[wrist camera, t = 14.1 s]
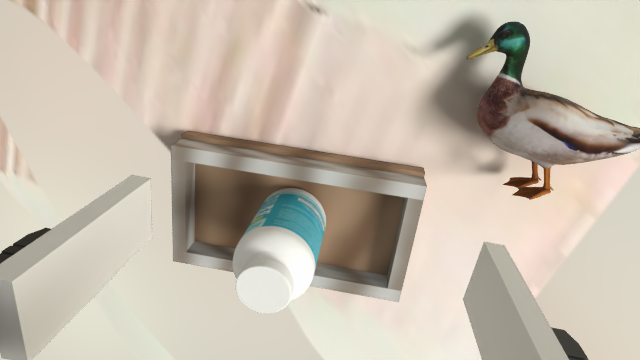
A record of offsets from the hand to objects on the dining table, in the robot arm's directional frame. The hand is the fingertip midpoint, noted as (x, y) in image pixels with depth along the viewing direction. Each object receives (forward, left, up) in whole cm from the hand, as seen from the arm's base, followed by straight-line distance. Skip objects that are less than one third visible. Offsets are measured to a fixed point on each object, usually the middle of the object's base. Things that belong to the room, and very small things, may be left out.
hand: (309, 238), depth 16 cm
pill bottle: (-4, -13, -26) cm, 29 cm away
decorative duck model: (+18, +3, -28) cm, 33 cm away
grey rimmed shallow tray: (-4, -13, -27) cm, 31 cm away
